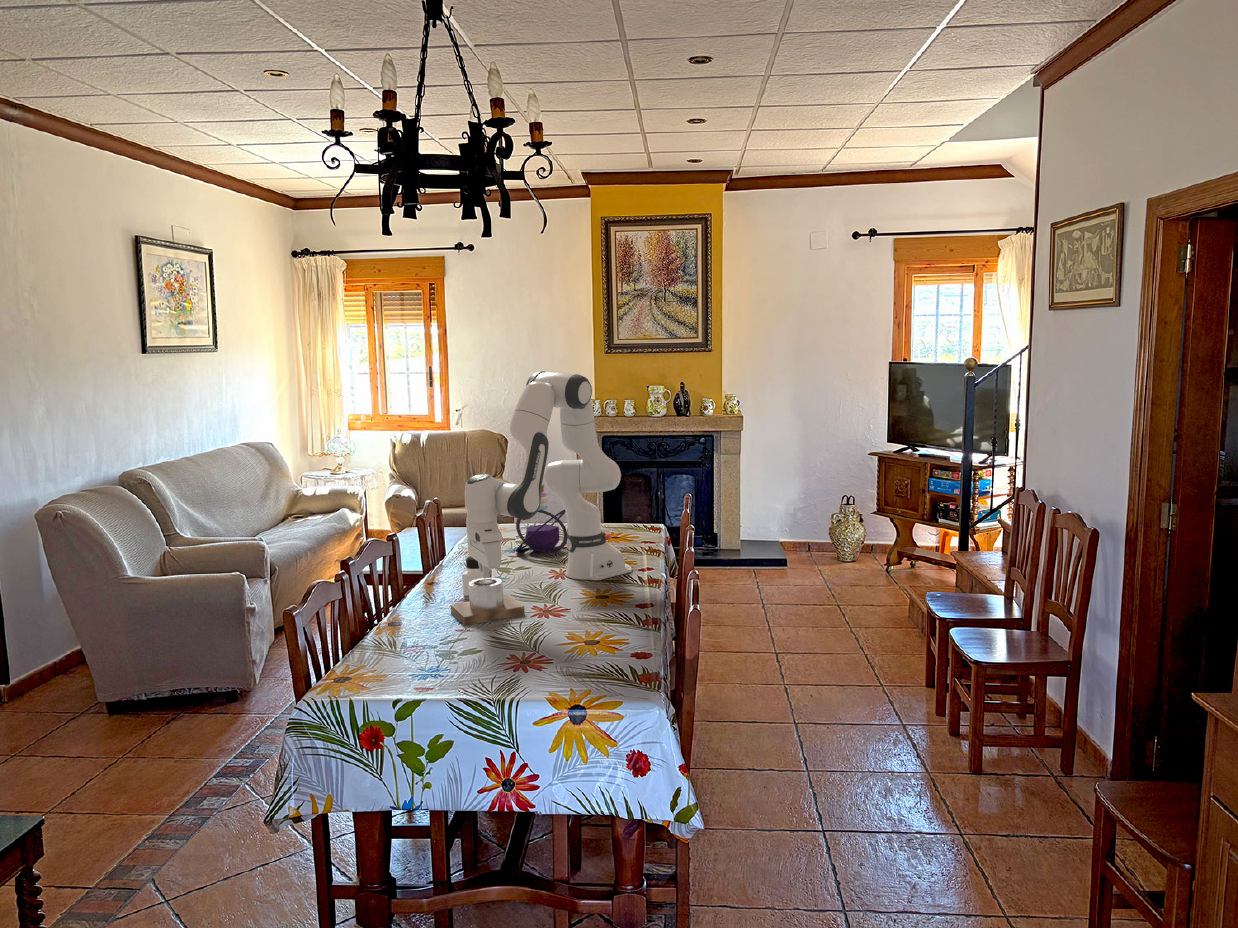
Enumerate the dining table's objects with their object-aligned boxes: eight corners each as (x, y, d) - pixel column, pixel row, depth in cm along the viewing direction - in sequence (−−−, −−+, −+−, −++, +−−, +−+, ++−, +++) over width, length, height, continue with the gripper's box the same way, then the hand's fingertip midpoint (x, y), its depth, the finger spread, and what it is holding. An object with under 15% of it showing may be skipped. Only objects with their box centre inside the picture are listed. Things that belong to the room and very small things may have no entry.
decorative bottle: (527, 542, 346) (524, 479, 343) (578, 543, 341) (575, 480, 337) (505, 557, 325) (501, 490, 321) (559, 558, 319) (555, 490, 316)
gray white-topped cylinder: (492, 598, 262) (491, 578, 261) (497, 602, 258) (496, 582, 257) (476, 601, 260) (474, 581, 259) (481, 605, 256) (480, 585, 255)
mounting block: (508, 602, 270) (508, 594, 269) (524, 614, 257) (524, 606, 257) (451, 612, 262) (450, 604, 261) (464, 625, 249) (464, 617, 249)
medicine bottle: (484, 596, 277) (482, 559, 275) (463, 596, 278) (460, 559, 276) (492, 589, 284) (490, 553, 282) (471, 589, 285) (468, 553, 283)
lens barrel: (497, 598, 266) (495, 575, 264) (507, 606, 257) (506, 583, 256) (466, 603, 261) (464, 581, 260) (476, 612, 253) (474, 588, 252)
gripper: (461, 526, 264) (464, 570, 266) (482, 538, 245) (485, 586, 247) (481, 523, 266) (484, 567, 268) (504, 535, 248) (506, 583, 250)
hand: (485, 577), depth 258 cm, fingers closed
